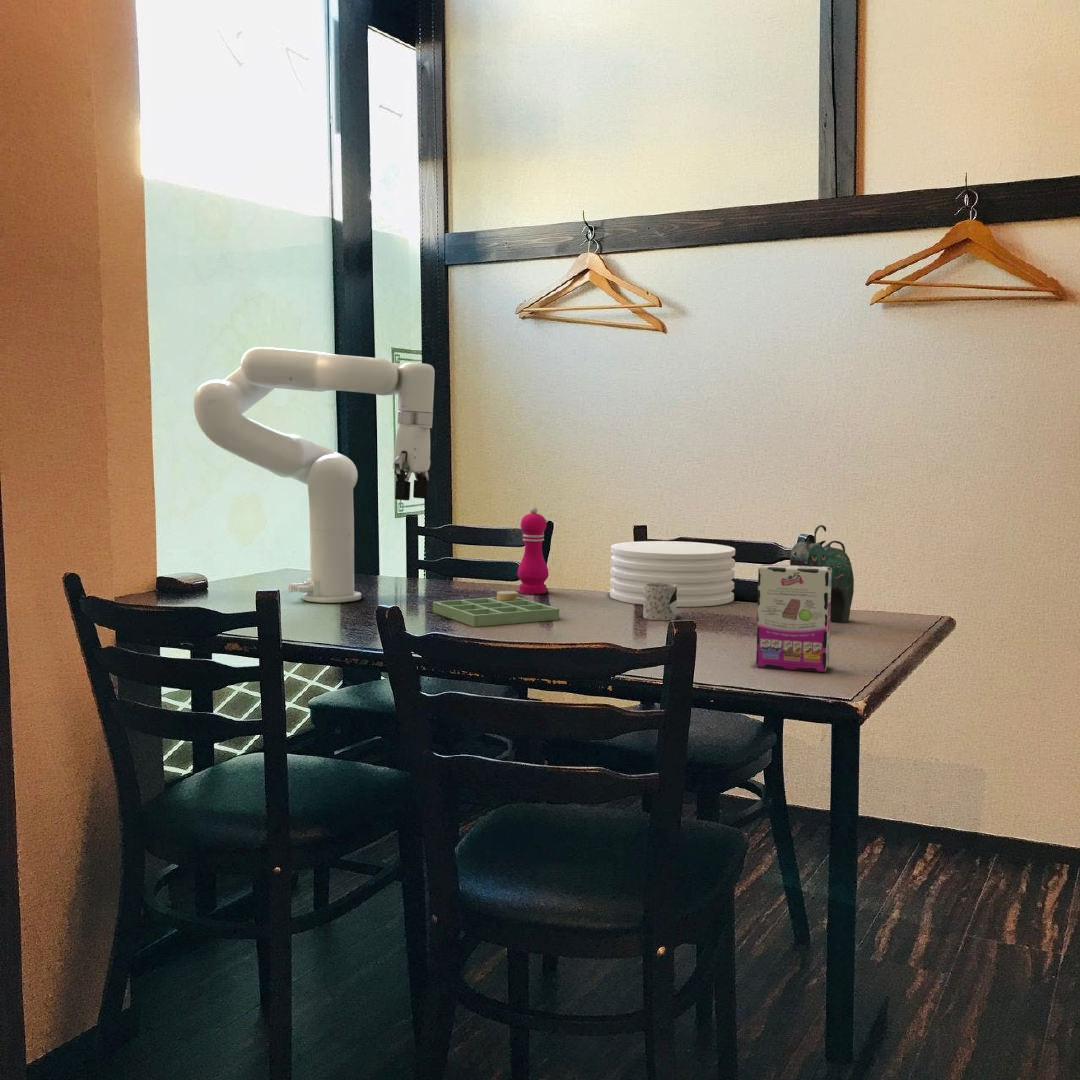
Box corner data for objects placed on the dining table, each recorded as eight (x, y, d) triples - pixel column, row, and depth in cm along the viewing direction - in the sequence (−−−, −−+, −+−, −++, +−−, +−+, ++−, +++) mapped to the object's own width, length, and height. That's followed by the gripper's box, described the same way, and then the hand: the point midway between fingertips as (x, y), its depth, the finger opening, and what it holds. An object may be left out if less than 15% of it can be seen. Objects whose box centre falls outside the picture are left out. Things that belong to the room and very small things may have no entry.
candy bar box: (829, 667, 180) (833, 566, 178) (825, 673, 175) (829, 569, 174) (760, 661, 184) (763, 562, 182) (754, 667, 179) (758, 566, 178)
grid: (474, 626, 213) (474, 615, 213) (432, 612, 229) (432, 601, 229) (559, 619, 222) (559, 608, 222) (513, 606, 239) (513, 595, 238)
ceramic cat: (808, 634, 210) (812, 528, 208) (778, 629, 214) (782, 525, 212) (858, 621, 224) (862, 522, 222) (829, 617, 228) (833, 520, 226)
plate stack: (590, 591, 262) (591, 542, 261) (694, 586, 272) (695, 539, 271) (644, 609, 236) (646, 555, 235) (758, 603, 246) (759, 551, 245)
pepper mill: (549, 590, 262) (550, 505, 260) (546, 595, 255) (547, 507, 253) (519, 589, 263) (520, 505, 261) (515, 594, 256) (516, 507, 254)
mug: (677, 620, 223) (678, 587, 222) (643, 619, 223) (644, 587, 222) (673, 612, 233) (674, 581, 232) (641, 611, 233) (642, 580, 232)
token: (502, 608, 231) (502, 594, 231) (492, 605, 235) (493, 591, 235) (521, 607, 233) (521, 593, 233) (511, 604, 237) (511, 590, 237)
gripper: (414, 420, 252) (411, 496, 253) (382, 418, 235) (378, 499, 237) (445, 422, 249) (442, 498, 251) (415, 420, 233) (411, 502, 235)
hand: (411, 499), depth 244 cm, fingers open, 9 cm apart
